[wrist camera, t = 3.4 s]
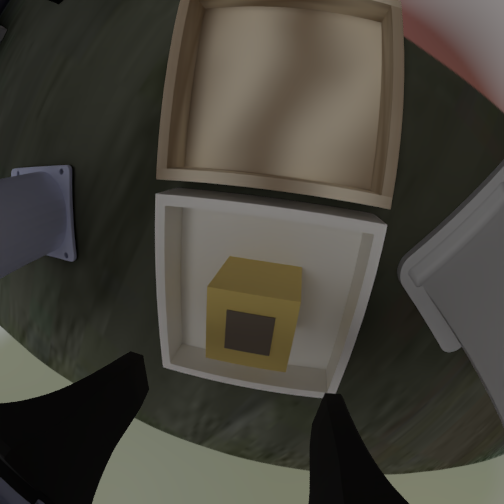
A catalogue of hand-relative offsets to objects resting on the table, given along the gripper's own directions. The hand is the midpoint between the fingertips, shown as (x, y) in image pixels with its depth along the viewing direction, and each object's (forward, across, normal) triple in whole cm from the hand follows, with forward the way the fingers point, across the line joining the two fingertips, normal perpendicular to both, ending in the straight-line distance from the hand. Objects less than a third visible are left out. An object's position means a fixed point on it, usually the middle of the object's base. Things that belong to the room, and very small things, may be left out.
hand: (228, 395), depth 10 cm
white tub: (+9, 0, 0) cm, 9 cm away
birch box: (+9, 0, -13) cm, 16 cm away
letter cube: (+9, 0, 0) cm, 9 cm away
